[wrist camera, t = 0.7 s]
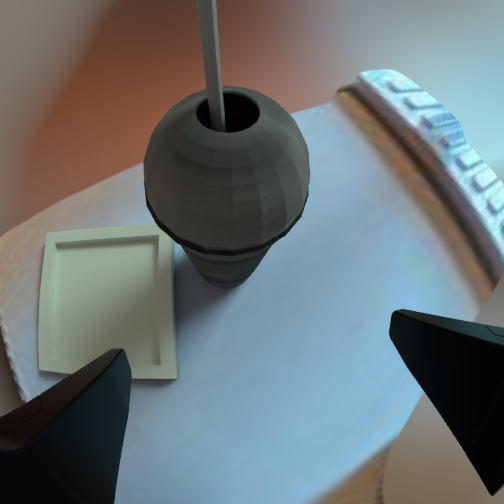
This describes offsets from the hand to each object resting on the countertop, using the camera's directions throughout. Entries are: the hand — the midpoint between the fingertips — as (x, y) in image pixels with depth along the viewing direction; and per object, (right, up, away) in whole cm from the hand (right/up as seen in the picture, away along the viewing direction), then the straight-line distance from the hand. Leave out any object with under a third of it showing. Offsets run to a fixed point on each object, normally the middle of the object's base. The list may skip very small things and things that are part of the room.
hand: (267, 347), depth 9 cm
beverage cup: (-3, +2, +15) cm, 15 cm away
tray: (-12, -1, +12) cm, 17 cm away
